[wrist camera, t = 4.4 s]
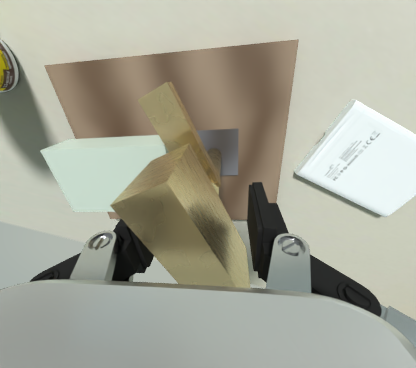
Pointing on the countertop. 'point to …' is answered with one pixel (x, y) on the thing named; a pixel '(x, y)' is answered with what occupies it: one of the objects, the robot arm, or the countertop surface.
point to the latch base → (194, 106)
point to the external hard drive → (364, 160)
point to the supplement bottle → (7, 69)
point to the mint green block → (100, 167)
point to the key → (183, 202)
